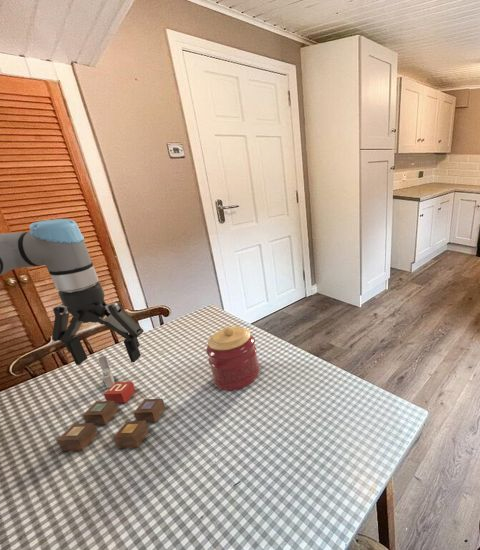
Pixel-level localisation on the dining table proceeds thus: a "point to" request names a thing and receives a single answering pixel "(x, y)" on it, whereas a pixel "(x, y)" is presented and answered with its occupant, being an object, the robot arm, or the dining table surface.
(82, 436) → the word block
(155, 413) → the right word block
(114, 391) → the red letter cube
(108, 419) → the left word block
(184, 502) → the dining table surface
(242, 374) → the kitchen canister
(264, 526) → the dining table surface
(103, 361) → the lighter
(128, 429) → the right word block
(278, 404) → the dining table surface
